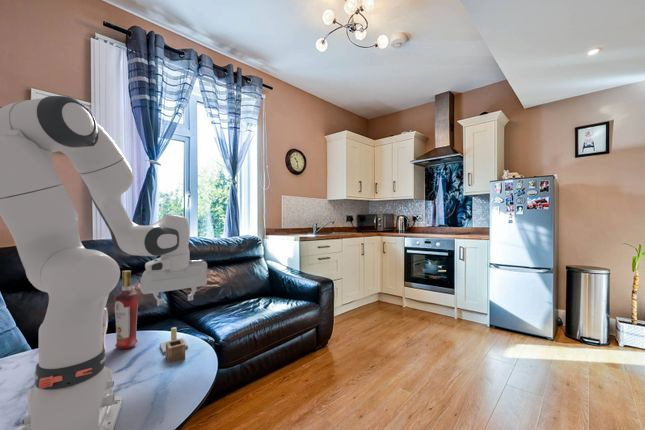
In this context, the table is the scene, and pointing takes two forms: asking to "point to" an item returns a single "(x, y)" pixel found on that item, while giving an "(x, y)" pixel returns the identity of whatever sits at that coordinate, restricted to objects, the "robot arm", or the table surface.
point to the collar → (175, 350)
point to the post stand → (173, 337)
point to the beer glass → (105, 326)
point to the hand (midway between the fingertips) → (175, 302)
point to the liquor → (126, 314)
